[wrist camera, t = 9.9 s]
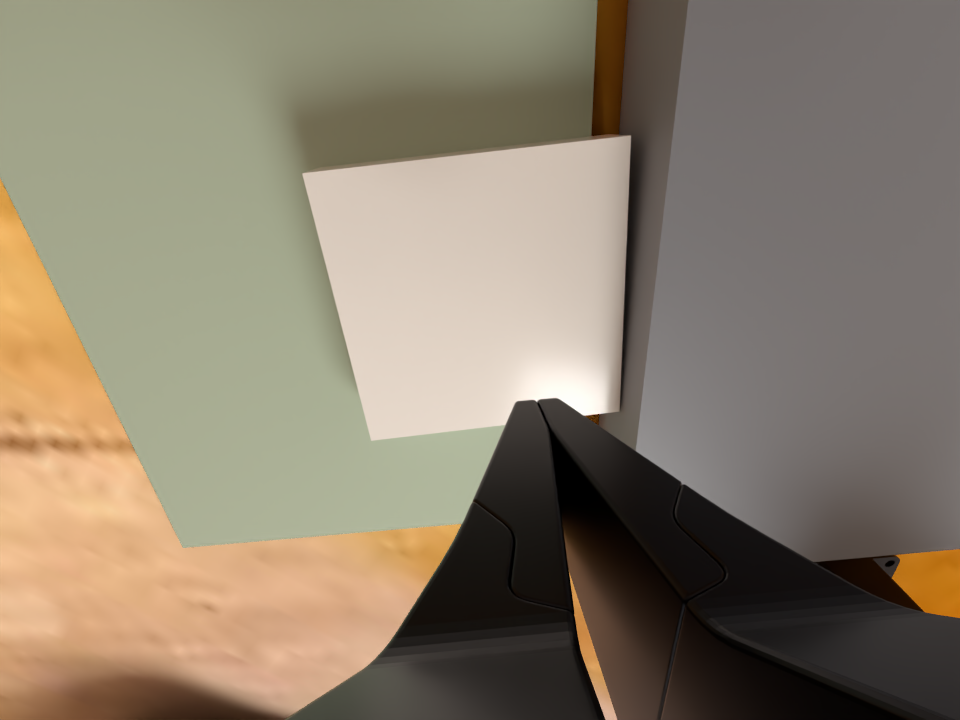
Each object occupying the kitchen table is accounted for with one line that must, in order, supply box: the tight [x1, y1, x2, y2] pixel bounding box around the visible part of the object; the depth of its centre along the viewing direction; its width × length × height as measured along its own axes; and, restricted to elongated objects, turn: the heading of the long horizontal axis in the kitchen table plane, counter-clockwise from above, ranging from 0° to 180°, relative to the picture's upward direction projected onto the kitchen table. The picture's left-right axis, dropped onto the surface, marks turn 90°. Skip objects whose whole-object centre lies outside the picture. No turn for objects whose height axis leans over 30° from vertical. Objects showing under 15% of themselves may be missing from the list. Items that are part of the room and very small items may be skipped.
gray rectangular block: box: [599, 0, 960, 562], centre depth 15 cm, size 22×16×4 cm
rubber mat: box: [0, 0, 598, 548], centre depth 17 cm, size 22×18×1 cm
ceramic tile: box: [302, 134, 631, 441], centre depth 16 cm, size 9×9×2 cm
